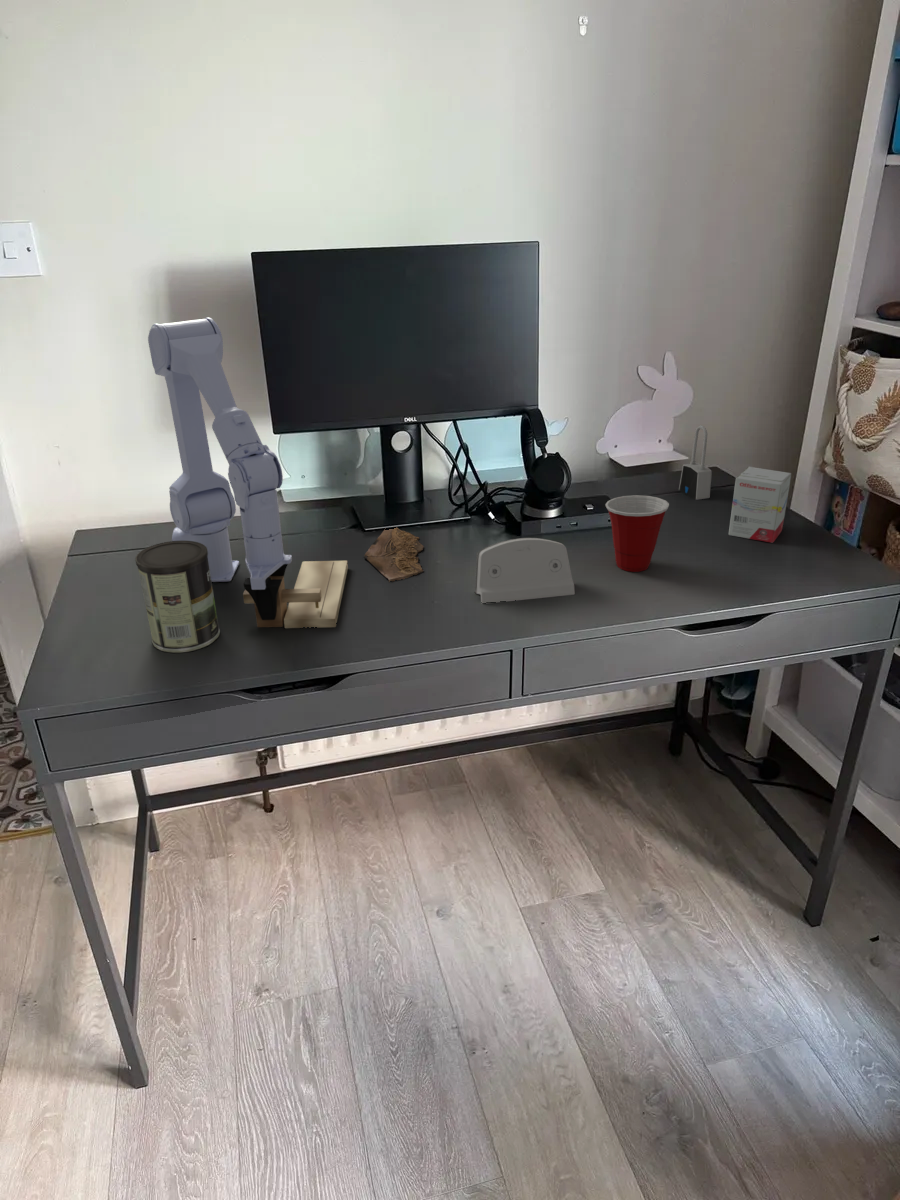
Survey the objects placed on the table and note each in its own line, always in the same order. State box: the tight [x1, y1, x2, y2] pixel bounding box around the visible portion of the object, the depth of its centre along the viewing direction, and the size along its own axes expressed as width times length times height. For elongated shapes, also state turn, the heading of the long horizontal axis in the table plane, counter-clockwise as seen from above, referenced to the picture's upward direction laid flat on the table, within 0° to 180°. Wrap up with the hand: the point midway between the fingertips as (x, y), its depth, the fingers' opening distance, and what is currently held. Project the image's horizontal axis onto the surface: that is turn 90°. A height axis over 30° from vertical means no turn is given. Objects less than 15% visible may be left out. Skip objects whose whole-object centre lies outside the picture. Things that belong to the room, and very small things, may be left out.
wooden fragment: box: [363, 527, 424, 583], centre depth 162 cm, size 26×11×1 cm, turn 2°
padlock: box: [678, 425, 713, 501], centre depth 184 cm, size 7×4×15 cm, turn 20°
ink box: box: [728, 466, 792, 544], centre depth 165 cm, size 9×9×12 cm
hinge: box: [474, 537, 576, 604], centre depth 145 cm, size 17×5×10 cm, turn 101°
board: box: [283, 560, 349, 629], centre depth 145 cm, size 8×22×2 cm, turn 1°
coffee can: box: [134, 540, 221, 654], centre depth 131 cm, size 10×10×14 cm
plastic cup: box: [604, 494, 670, 573], centre depth 153 cm, size 11×11×12 cm
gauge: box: [242, 575, 322, 628], centre depth 137 cm, size 12×5×7 cm, turn 91°
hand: (271, 610), depth 138 cm, fingers closed on gauge, 5 cm apart
